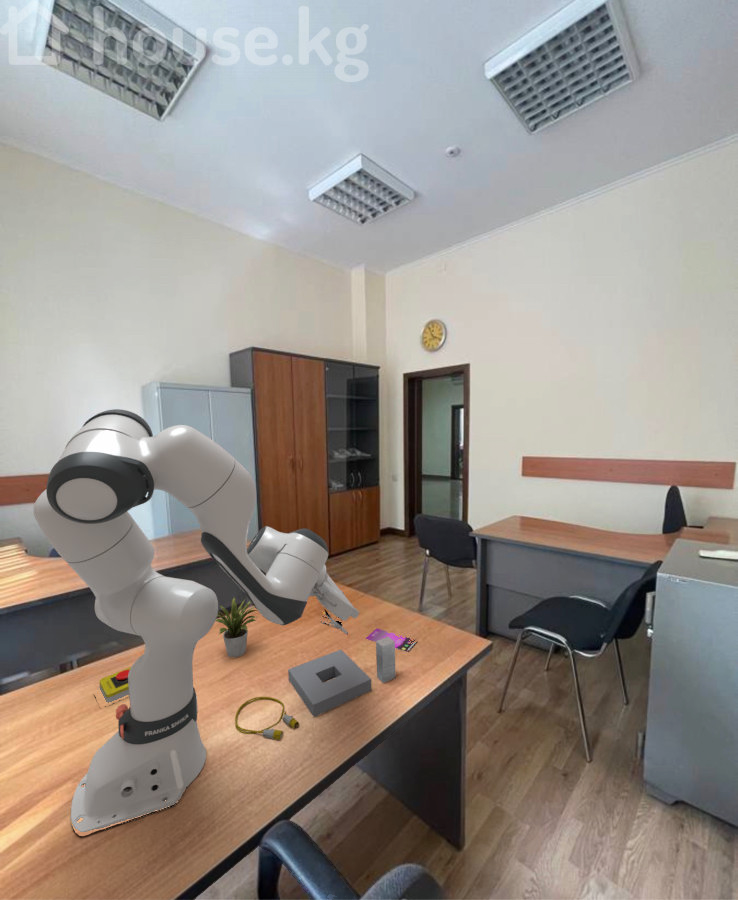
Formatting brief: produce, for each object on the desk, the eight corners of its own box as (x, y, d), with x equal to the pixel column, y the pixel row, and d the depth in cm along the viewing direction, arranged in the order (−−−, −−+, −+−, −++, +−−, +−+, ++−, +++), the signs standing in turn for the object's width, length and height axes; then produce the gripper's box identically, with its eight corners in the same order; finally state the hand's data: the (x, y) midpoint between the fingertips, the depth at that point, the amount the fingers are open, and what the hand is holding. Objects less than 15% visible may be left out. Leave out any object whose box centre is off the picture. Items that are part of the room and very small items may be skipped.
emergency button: (91, 677, 101) (154, 652, 112) (92, 693, 102) (155, 667, 112) (99, 694, 95) (165, 666, 105) (100, 711, 95) (166, 681, 106)
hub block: (313, 717, 91) (313, 704, 90) (288, 680, 104) (288, 669, 104) (371, 690, 99) (371, 679, 99) (341, 659, 113) (341, 649, 112)
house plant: (239, 674, 107) (236, 616, 106) (199, 665, 112) (196, 610, 111) (269, 645, 121) (266, 594, 120) (231, 638, 125) (229, 589, 124)
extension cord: (246, 758, 81) (245, 749, 80) (229, 711, 94) (229, 703, 94) (301, 732, 87) (301, 724, 87) (278, 692, 100) (278, 684, 100)
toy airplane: (337, 639, 124) (337, 632, 124) (310, 613, 141) (309, 607, 141) (358, 632, 128) (358, 625, 128) (329, 607, 146) (328, 601, 145)
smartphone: (408, 654, 115) (408, 651, 115) (365, 640, 123) (365, 637, 123) (418, 642, 121) (418, 640, 121) (377, 629, 129) (377, 626, 129)
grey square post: (383, 683, 102) (382, 646, 101) (376, 677, 104) (375, 641, 104) (396, 677, 104) (395, 641, 103) (389, 671, 107) (388, 636, 106)
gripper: (331, 584, 82) (375, 615, 87) (305, 550, 100) (342, 577, 106) (312, 609, 80) (357, 639, 86) (288, 570, 99) (327, 596, 104)
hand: (349, 604), depth 96 cm, fingers open, 8 cm apart
